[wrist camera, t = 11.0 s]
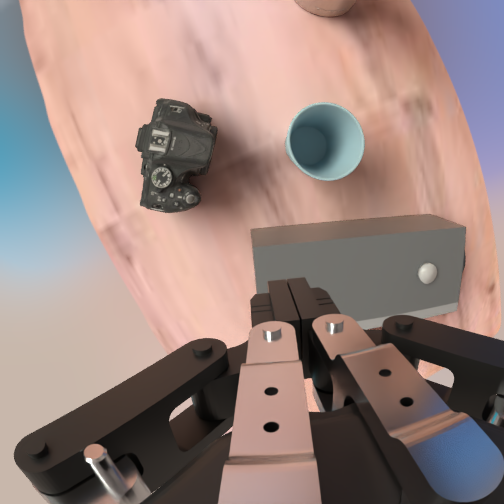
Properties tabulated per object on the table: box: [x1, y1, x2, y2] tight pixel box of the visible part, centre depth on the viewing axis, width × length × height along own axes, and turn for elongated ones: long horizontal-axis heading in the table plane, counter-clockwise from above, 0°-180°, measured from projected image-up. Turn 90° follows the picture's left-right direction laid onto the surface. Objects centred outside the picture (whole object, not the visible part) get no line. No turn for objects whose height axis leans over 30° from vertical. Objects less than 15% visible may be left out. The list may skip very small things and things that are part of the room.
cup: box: [285, 102, 365, 181], centre depth 34 cm, size 8×8×10 cm
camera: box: [135, 98, 217, 213], centre depth 34 cm, size 13×10×10 cm
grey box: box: [251, 214, 466, 330], centre depth 38 cm, size 11×27×10 cm, turn 95°
